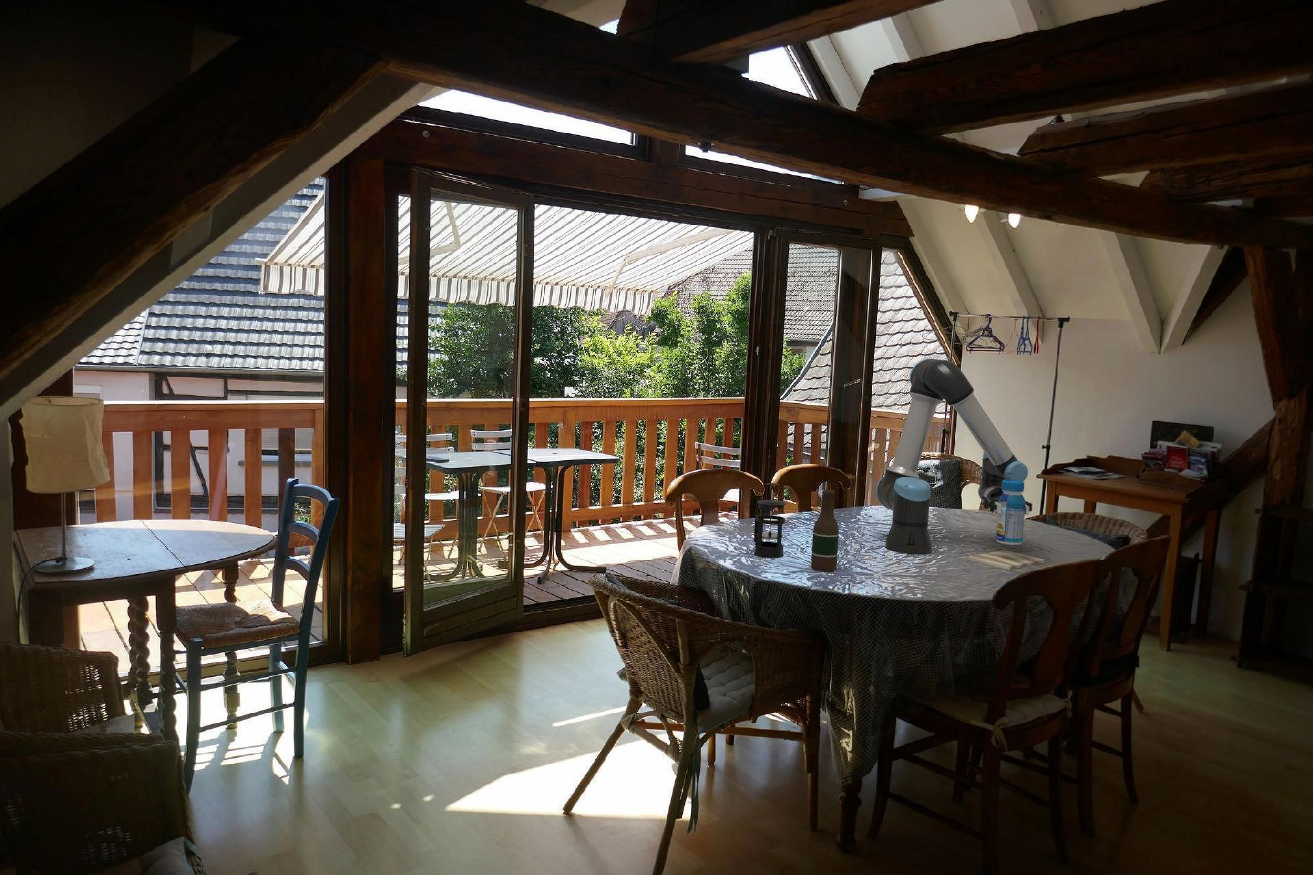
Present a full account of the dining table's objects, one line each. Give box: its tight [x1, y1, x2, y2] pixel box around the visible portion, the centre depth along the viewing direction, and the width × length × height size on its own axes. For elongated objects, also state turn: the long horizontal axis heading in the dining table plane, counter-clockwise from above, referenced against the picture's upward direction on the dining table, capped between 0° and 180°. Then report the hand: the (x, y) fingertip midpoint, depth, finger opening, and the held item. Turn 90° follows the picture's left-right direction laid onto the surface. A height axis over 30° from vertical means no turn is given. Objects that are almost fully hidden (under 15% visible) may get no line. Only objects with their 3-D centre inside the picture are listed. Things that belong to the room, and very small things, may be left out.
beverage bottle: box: [995, 480, 1026, 546], centre depth 307 cm, size 8×8×20 cm
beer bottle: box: [810, 489, 840, 573], centre depth 287 cm, size 8×8×24 cm
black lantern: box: [753, 482, 787, 559], centre depth 303 cm, size 12×9×23 cm
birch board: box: [966, 550, 1045, 571], centre depth 309 cm, size 20×15×1 cm
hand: (1013, 510), depth 304 cm, fingers closed on beverage bottle, 8 cm apart
